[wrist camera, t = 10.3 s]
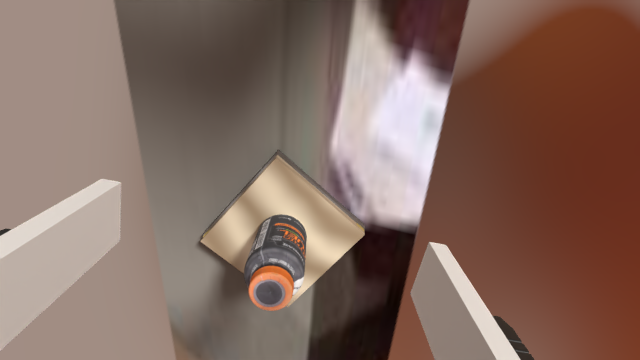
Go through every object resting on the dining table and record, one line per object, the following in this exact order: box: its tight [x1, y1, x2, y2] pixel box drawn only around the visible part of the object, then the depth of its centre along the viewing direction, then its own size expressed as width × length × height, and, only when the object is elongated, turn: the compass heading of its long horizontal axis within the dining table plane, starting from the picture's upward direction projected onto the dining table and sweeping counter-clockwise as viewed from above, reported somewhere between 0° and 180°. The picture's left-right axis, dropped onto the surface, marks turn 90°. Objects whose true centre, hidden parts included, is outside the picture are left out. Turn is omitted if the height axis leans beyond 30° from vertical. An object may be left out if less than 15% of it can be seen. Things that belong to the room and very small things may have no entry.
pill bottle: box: [244, 214, 307, 311], centre depth 36 cm, size 6×6×11 cm
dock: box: [201, 150, 365, 307], centre depth 43 cm, size 14×14×3 cm
